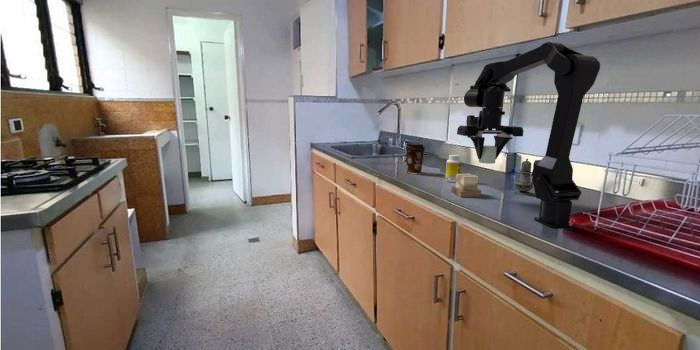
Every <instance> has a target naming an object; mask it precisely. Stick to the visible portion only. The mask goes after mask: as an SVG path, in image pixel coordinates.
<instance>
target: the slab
mask: <svg viewBox="0 0 700 350" xmlns="http://www.w3.org/2000/svg"><path fill="white" fill-rule="evenodd" d="M450 193H452V194H454V195H456V196H457V197H460V198H481V197H482V193H483V192H482V190H480V189H479V188H477V190H464V191H463V190H461V189H459V188H456V185H454V186H453V185H451V190H450Z"/></svg>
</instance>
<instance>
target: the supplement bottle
mask: <svg viewBox="0 0 700 350" xmlns="http://www.w3.org/2000/svg"><path fill="white" fill-rule="evenodd" d="M460 157H461V156H460V155H459V154H449V155H448V159H447V160H446V164H445V167H446V168H445V181H446V182H449V183H450V182H451V183H456V175H457V174H462V171H461V170H462V160H460V159H461V158H460Z"/></svg>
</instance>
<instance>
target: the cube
mask: <svg viewBox="0 0 700 350" xmlns="http://www.w3.org/2000/svg"><path fill="white" fill-rule="evenodd" d="M478 184H479V176H478V175H475V174H472V173H461V174H457V175H456V182H455V186H456V188H459V189H461V190H463V191H464V190H477V189H478V186H479V185H478Z"/></svg>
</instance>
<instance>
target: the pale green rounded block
mask: <svg viewBox="0 0 700 350" xmlns="http://www.w3.org/2000/svg"><path fill="white" fill-rule="evenodd" d="M496 151H497V147H496V146H495V145H487V144H484V146H483V152H482V156H481V159H478V163H481V164H486V165H487V164H489V165H490V164H493V165H494V164H495V163H496V161H497V159H496Z"/></svg>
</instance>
